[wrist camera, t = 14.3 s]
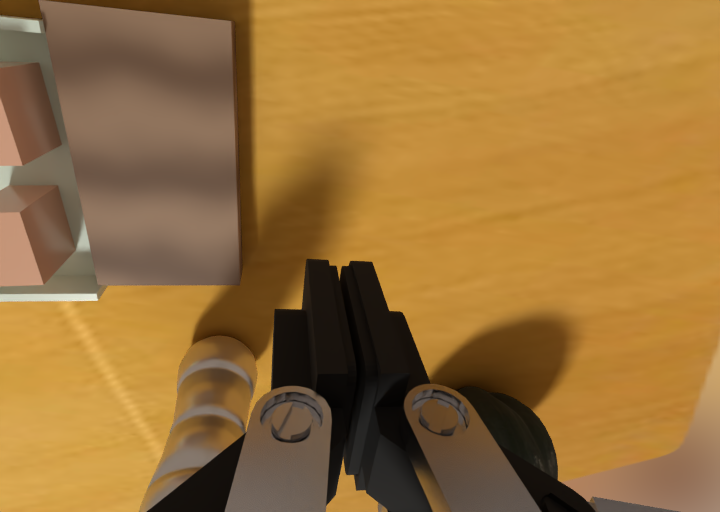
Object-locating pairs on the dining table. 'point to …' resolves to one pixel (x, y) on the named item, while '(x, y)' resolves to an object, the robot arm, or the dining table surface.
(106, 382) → the dining table surface
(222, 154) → the board
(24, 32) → the tray
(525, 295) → the dining table surface
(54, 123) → the tile
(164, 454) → the plastic bottle
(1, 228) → the tile
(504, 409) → the squash
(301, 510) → the robot arm
